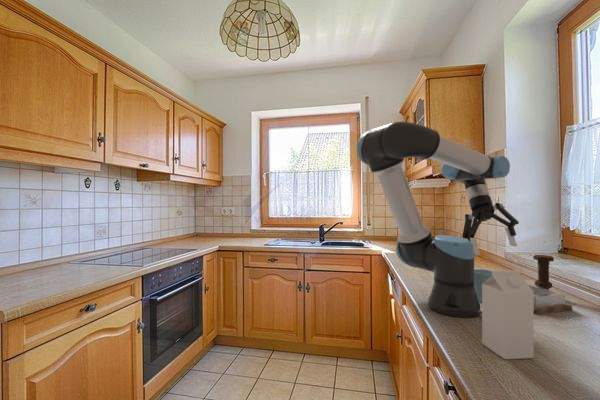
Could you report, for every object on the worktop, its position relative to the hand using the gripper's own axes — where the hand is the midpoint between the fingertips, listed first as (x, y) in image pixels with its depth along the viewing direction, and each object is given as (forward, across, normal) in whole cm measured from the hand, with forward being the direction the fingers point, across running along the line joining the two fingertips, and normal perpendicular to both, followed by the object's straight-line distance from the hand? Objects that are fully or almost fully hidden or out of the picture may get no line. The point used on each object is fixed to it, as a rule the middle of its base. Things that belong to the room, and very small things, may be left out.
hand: (494, 250), depth 108 cm
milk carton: (+32, -14, +33) cm, 48 cm away
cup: (+17, +6, +4) cm, 19 cm away
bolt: (+15, -1, -21) cm, 26 cm away
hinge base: (+19, -3, -7) cm, 20 cm away
